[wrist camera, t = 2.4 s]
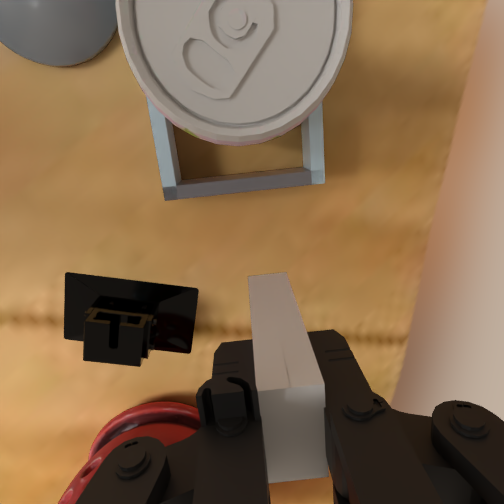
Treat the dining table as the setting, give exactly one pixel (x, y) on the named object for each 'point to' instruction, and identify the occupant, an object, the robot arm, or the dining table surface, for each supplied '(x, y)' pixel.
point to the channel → (237, 182)
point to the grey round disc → (57, 29)
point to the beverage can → (235, 61)
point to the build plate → (127, 318)
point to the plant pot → (135, 425)
